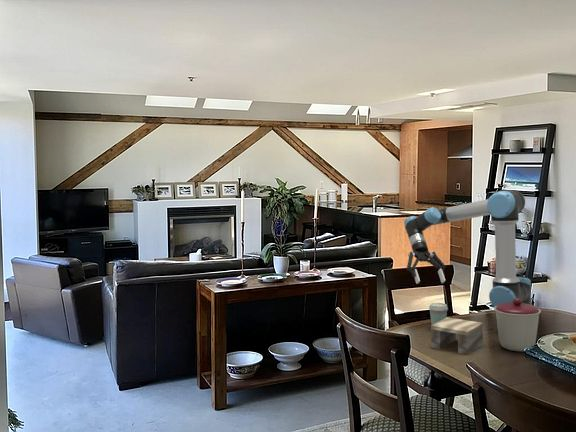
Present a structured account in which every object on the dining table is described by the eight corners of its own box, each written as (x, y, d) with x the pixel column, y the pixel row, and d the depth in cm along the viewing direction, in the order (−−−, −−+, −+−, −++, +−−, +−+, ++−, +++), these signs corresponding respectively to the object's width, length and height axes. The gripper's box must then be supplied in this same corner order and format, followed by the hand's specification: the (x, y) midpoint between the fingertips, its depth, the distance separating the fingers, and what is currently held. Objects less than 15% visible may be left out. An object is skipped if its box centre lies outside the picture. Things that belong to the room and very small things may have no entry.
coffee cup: (448, 332, 255) (448, 307, 255) (429, 331, 257) (429, 306, 256) (447, 327, 264) (447, 302, 263) (428, 326, 266) (428, 302, 265)
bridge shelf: (482, 344, 237) (482, 322, 236) (467, 354, 225) (467, 331, 224) (447, 338, 247) (447, 317, 246) (431, 347, 235) (430, 325, 234)
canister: (550, 352, 224) (550, 301, 222) (509, 356, 221) (509, 304, 219) (524, 339, 242) (524, 292, 240) (485, 343, 239) (485, 295, 237)
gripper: (437, 248, 284) (450, 285, 272) (393, 248, 277) (404, 286, 265) (444, 240, 278) (457, 277, 266) (398, 240, 271) (410, 278, 259)
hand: (431, 282), depth 266 cm, fingers open, 13 cm apart
